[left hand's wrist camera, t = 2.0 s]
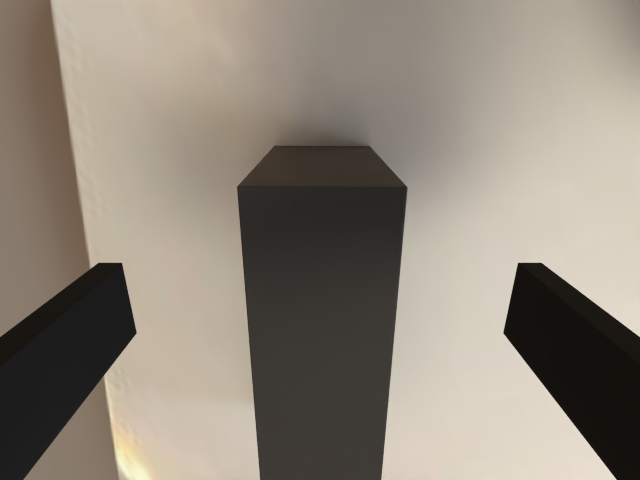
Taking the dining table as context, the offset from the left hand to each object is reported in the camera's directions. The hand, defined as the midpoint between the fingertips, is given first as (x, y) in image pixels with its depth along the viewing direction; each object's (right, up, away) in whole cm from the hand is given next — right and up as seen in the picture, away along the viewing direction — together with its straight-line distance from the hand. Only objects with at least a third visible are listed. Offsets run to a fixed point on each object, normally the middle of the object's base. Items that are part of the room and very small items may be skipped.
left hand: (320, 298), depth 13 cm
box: (0, -2, +17) cm, 17 cm away
